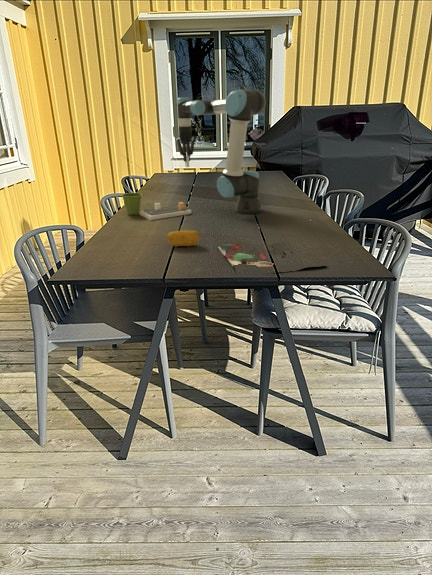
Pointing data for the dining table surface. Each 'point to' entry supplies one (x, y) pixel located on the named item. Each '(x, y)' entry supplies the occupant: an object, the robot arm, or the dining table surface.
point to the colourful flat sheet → (242, 256)
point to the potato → (183, 238)
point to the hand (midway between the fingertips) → (187, 166)
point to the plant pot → (132, 202)
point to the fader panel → (163, 212)
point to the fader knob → (181, 205)
